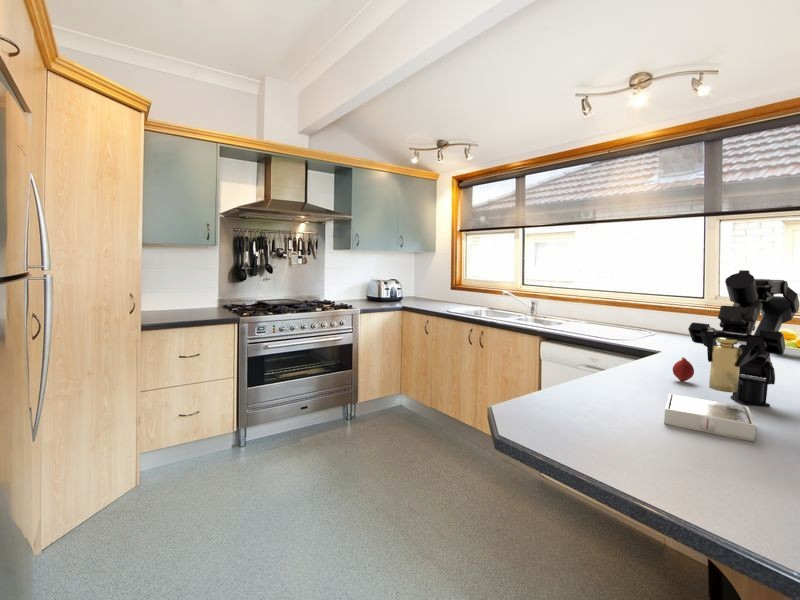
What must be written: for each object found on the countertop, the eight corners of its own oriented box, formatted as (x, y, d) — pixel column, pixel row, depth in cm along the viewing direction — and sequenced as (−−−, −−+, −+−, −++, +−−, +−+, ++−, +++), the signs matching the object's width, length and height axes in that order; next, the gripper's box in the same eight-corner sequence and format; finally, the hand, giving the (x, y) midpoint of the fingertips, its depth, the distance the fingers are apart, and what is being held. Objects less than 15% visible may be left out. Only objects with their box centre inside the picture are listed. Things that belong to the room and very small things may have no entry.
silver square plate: (672, 398, 110) (673, 394, 110) (743, 410, 102) (743, 406, 102) (669, 411, 98) (670, 408, 98) (749, 426, 90) (749, 423, 90)
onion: (686, 380, 142) (688, 356, 142) (697, 384, 136) (699, 359, 136) (668, 378, 143) (670, 355, 142) (677, 383, 137) (679, 358, 136)
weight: (714, 385, 109) (719, 336, 108) (741, 390, 104) (746, 339, 103) (704, 387, 106) (709, 337, 105) (731, 393, 101) (736, 341, 100)
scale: (668, 406, 111) (669, 393, 111) (746, 421, 102) (748, 406, 102) (663, 424, 98) (665, 409, 98) (754, 442, 89) (755, 426, 89)
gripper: (694, 291, 113) (672, 336, 108) (787, 297, 98) (767, 348, 93) (703, 320, 119) (683, 363, 113) (792, 329, 104) (774, 380, 98)
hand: (723, 363), depth 104 cm, fingers closed on weight, 6 cm apart
